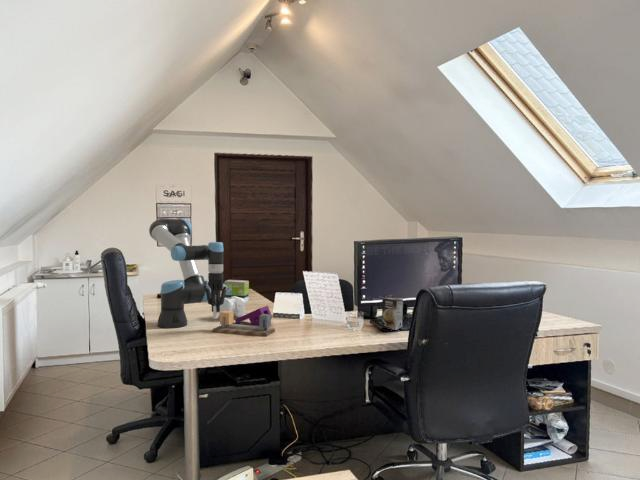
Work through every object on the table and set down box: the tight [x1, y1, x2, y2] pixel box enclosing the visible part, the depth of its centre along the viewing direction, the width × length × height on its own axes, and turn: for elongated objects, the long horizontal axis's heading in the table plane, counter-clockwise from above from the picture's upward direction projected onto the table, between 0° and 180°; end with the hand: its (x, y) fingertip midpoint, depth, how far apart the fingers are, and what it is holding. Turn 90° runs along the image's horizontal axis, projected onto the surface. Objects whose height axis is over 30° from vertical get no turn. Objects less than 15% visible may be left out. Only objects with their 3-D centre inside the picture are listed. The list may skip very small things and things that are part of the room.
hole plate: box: [211, 325, 276, 337], centre depth 243 cm, size 29×11×2 cm, turn 74°
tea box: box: [223, 279, 250, 303], centre depth 334 cm, size 15×10×15 cm
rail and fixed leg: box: [220, 313, 272, 331], centre depth 243 cm, size 26×6×8 cm, turn 74°
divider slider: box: [219, 311, 234, 328], centre depth 246 cm, size 5×6×7 cm
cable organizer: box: [218, 296, 246, 318], centre depth 278 cm, size 15×11×12 cm
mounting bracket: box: [234, 305, 273, 326], centre depth 262 cm, size 10×9×19 cm
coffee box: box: [381, 296, 404, 330], centre depth 253 cm, size 9×6×16 cm
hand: (215, 318), depth 248 cm, fingers closed
